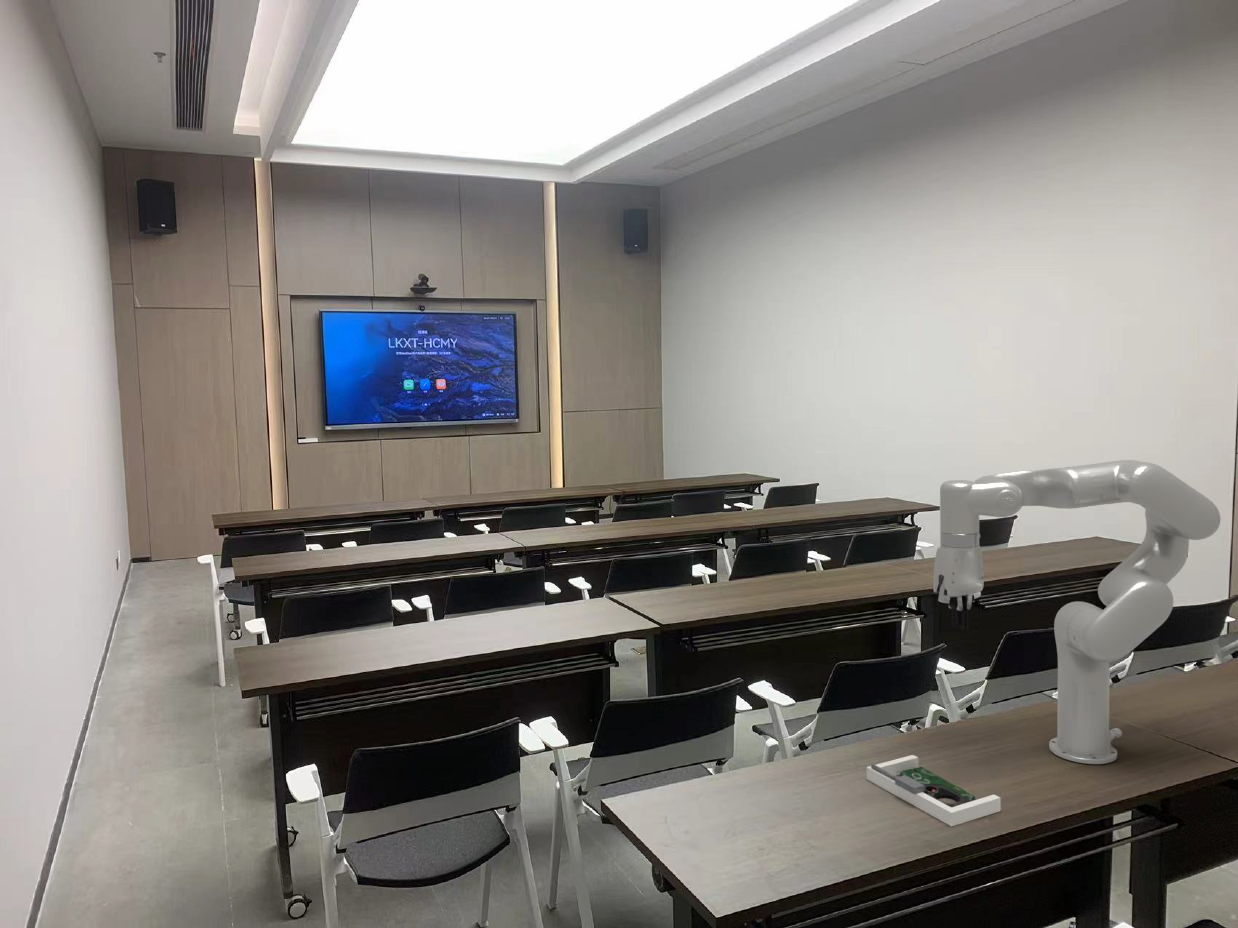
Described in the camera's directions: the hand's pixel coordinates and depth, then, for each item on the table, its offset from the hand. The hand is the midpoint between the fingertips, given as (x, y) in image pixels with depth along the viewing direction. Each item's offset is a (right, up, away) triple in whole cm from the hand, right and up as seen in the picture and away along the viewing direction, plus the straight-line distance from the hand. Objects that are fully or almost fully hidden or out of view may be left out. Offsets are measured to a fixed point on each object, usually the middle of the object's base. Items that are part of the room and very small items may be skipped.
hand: (959, 627), depth 185 cm
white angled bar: (-12, -29, -16) cm, 35 cm away
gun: (-11, -29, -14) cm, 34 cm away
